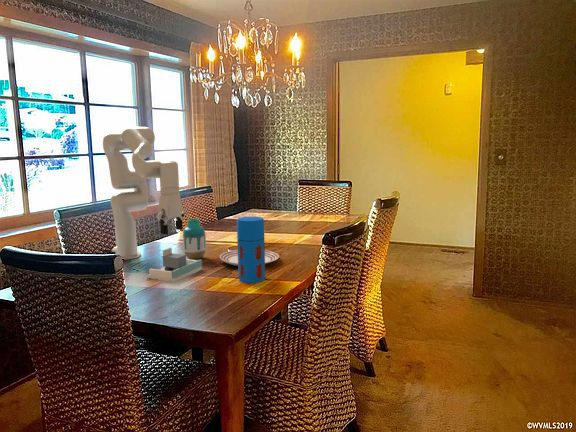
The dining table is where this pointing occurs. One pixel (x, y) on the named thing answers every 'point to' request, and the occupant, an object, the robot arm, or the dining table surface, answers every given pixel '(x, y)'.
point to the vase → (194, 239)
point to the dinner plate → (232, 257)
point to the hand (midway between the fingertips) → (172, 231)
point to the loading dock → (176, 271)
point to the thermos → (251, 249)
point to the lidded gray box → (173, 260)
